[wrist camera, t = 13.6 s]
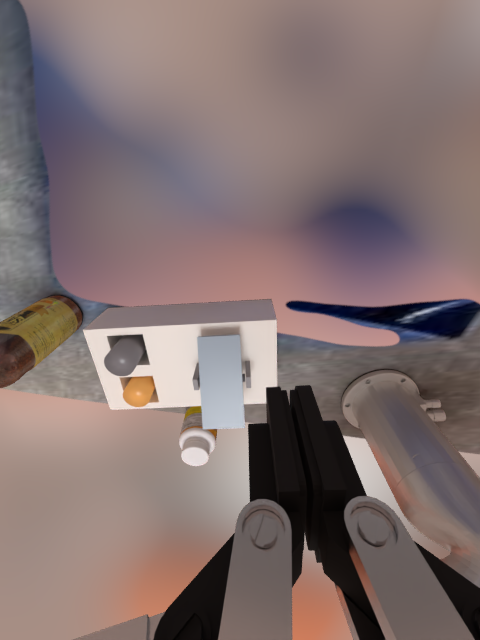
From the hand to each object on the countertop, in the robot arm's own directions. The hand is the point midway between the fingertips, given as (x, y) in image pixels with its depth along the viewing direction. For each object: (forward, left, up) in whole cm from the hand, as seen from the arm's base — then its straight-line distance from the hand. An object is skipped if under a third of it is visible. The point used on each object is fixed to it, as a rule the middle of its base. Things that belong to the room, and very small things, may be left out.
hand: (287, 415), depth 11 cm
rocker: (+5, +13, -20) cm, 24 cm away
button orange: (+17, +16, -28) cm, 37 cm away
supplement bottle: (+10, +26, -29) cm, 40 cm away
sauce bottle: (+29, +7, -29) cm, 42 cm away
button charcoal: (+17, +10, -27) cm, 33 cm away
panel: (+10, +13, -29) cm, 33 cm away
